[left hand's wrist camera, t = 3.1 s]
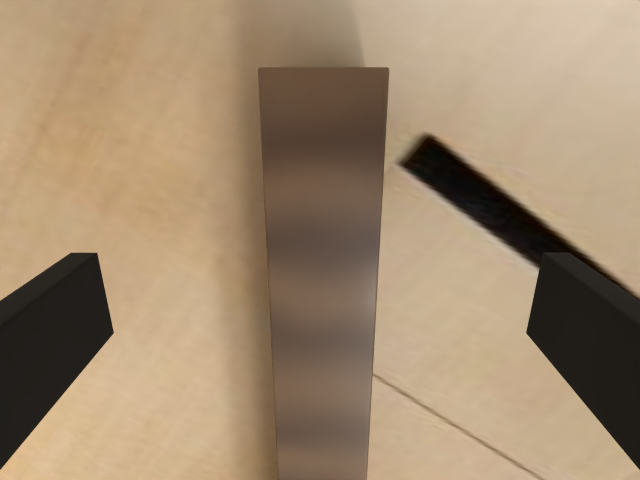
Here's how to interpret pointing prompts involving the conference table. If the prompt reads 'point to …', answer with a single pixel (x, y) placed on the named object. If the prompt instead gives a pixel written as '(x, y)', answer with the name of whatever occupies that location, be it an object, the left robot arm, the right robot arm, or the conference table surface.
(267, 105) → the post
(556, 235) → the conference table surface
